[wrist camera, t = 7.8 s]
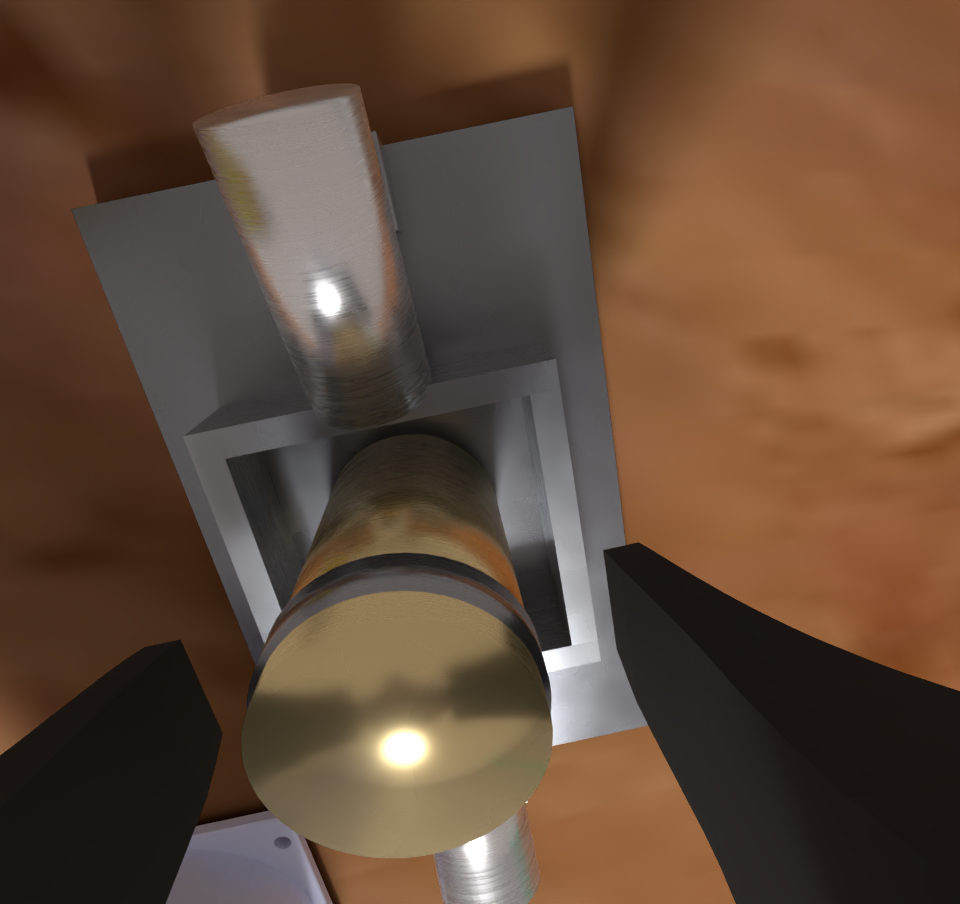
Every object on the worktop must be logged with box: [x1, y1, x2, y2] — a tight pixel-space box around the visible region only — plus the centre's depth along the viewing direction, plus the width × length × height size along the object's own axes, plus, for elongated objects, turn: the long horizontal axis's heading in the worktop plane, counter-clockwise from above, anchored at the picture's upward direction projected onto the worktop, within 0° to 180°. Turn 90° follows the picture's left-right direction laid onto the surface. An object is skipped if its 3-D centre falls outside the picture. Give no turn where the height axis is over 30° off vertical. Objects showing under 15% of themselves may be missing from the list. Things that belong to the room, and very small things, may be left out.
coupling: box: [241, 434, 553, 858], centre depth 11 cm, size 4×4×7 cm
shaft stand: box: [71, 83, 647, 904], centre depth 13 cm, size 17×10×5 cm, turn 11°
